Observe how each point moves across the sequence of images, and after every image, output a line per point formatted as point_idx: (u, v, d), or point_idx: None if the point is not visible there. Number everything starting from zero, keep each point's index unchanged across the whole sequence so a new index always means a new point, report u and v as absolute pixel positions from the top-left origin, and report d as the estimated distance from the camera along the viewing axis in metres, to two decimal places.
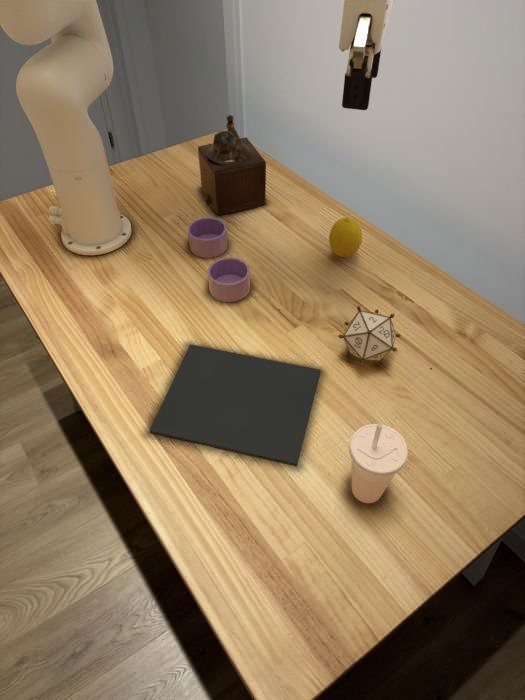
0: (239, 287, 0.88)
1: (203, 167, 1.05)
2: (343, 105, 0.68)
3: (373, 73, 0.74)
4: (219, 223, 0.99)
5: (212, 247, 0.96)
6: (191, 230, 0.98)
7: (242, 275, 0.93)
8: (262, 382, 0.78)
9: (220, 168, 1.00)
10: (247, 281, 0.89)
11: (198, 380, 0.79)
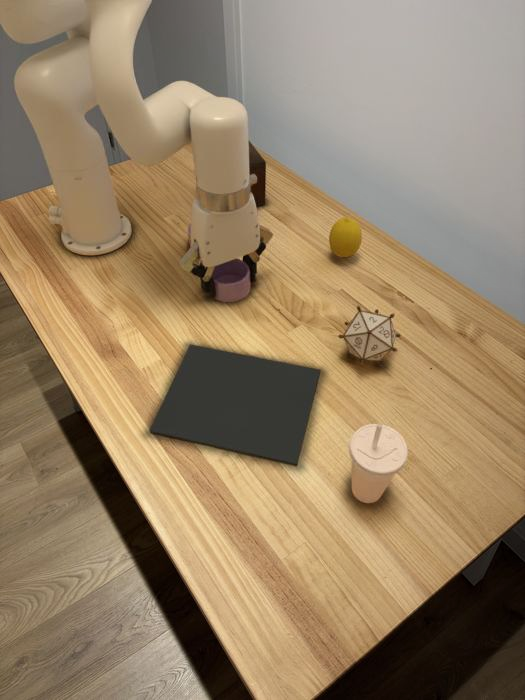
0: (239, 287, 0.88)
1: None
2: None
3: (250, 279, 0.92)
4: None
5: None
6: None
7: (242, 275, 0.93)
8: (262, 382, 0.78)
9: None
10: (247, 281, 0.89)
11: (198, 380, 0.79)
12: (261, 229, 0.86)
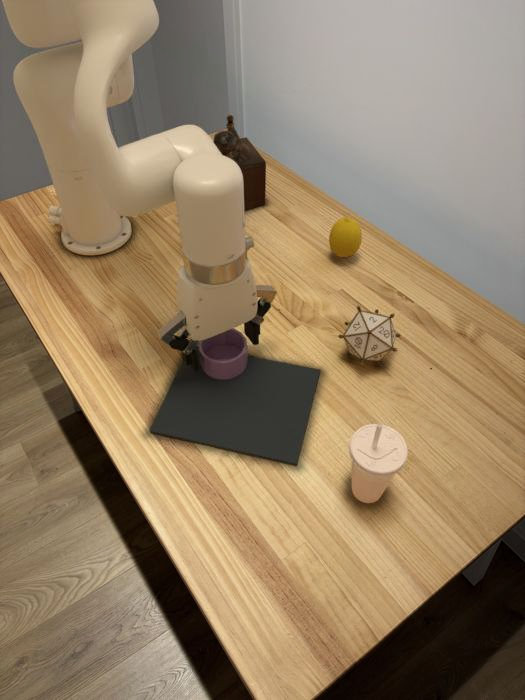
0: (235, 364, 0.77)
1: None
2: None
3: (253, 341, 0.80)
4: None
5: None
6: None
7: (239, 346, 0.82)
8: (262, 382, 0.78)
9: None
10: (244, 356, 0.78)
11: (198, 380, 0.79)
12: (261, 291, 0.74)
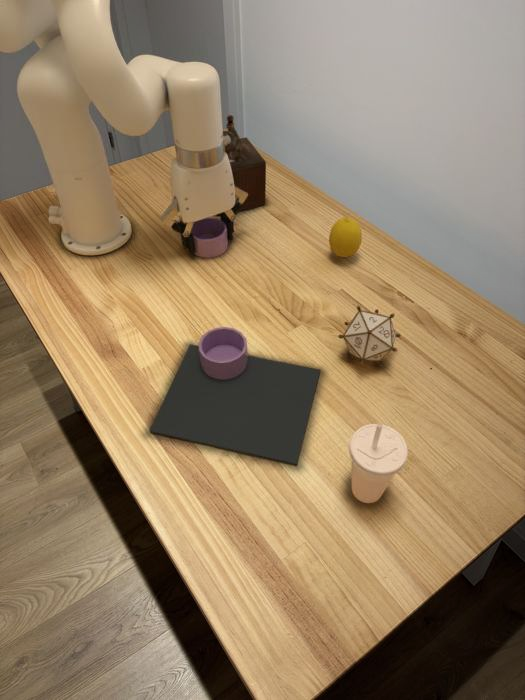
0: (235, 364, 0.77)
1: None
2: None
3: (228, 237, 0.99)
4: (219, 223, 0.99)
5: (212, 247, 0.96)
6: (191, 230, 0.98)
7: (239, 346, 0.82)
8: (262, 382, 0.78)
9: None
10: (244, 356, 0.78)
11: (198, 380, 0.79)
12: (236, 189, 0.94)
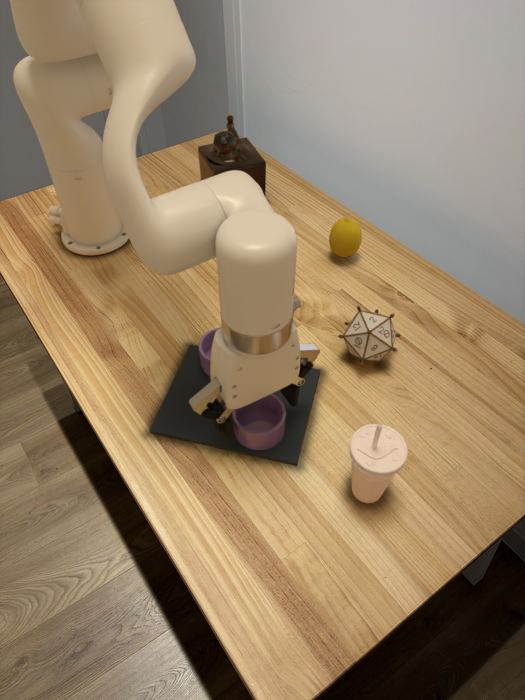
0: None
1: (203, 167, 1.05)
2: None
3: (291, 403, 0.72)
4: (274, 400, 0.72)
5: (267, 440, 0.69)
6: (236, 411, 0.72)
7: None
8: None
9: (220, 168, 1.00)
10: None
11: (198, 380, 0.79)
12: (303, 351, 0.66)
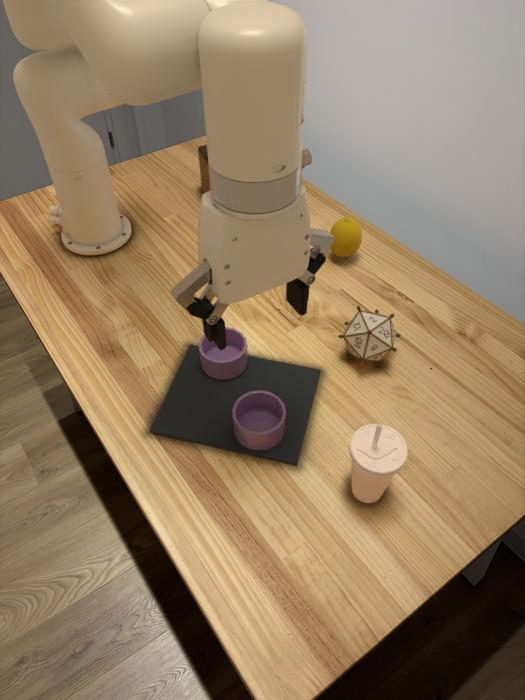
0: (235, 364, 0.77)
1: (203, 167, 1.05)
2: None
3: (298, 310, 0.59)
4: (274, 400, 0.72)
5: (267, 440, 0.69)
6: (236, 411, 0.72)
7: (239, 346, 0.82)
8: (262, 382, 0.78)
9: None
10: (244, 356, 0.78)
11: (198, 380, 0.79)
12: (314, 236, 0.53)
